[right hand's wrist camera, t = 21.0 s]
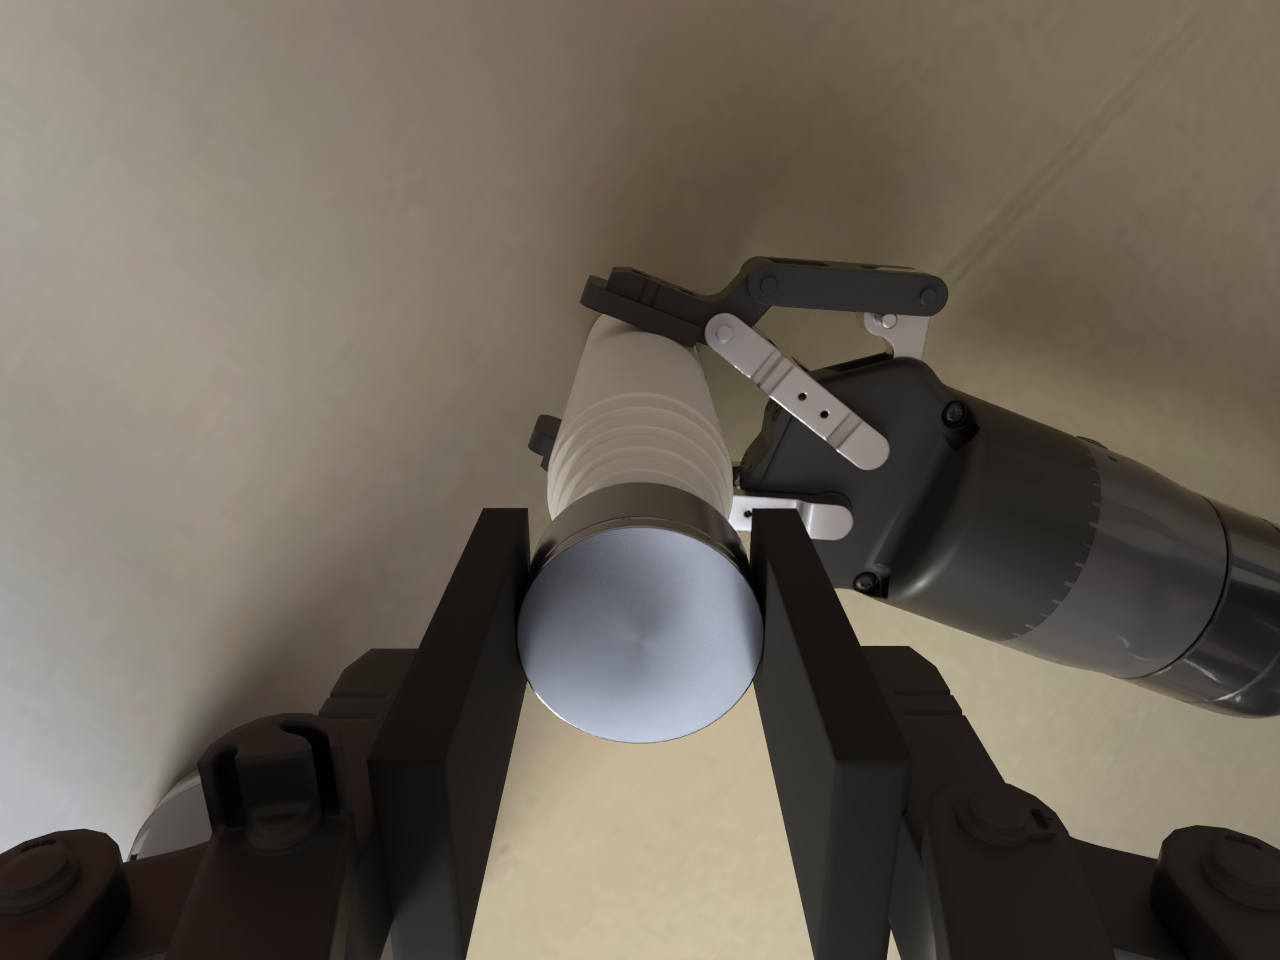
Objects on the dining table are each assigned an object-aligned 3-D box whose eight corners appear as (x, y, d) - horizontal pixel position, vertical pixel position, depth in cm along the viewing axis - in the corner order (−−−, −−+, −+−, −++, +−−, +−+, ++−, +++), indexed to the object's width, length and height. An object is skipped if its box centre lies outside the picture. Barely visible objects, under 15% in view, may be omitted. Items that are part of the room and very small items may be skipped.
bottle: (689, 409, 34) (755, 734, 14) (583, 402, 34) (504, 718, 14) (699, 302, 32) (789, 501, 13) (589, 294, 32) (510, 481, 13)
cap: (689, 707, 15) (695, 776, 14) (496, 628, 15) (477, 691, 13) (789, 536, 14) (810, 587, 13) (584, 443, 14) (577, 483, 12)
